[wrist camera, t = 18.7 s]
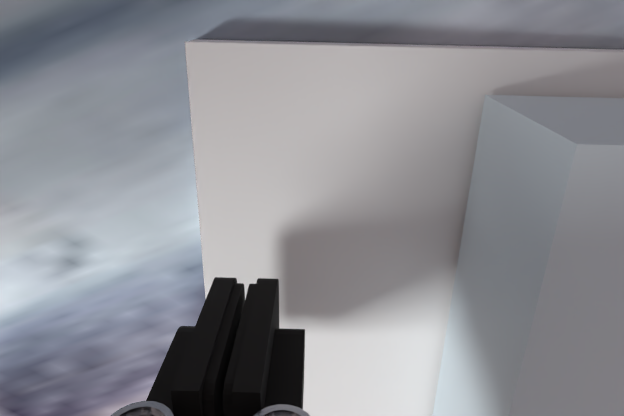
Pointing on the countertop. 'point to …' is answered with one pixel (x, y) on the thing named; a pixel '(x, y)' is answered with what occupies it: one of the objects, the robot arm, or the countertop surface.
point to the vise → (356, 191)
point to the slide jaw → (540, 264)
